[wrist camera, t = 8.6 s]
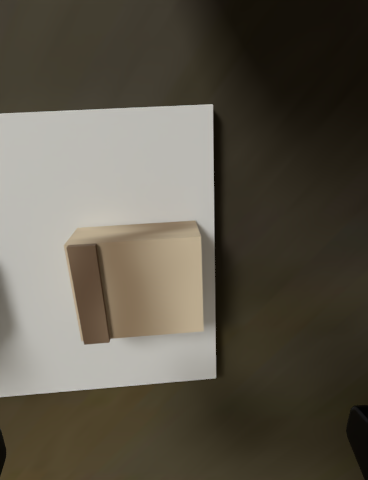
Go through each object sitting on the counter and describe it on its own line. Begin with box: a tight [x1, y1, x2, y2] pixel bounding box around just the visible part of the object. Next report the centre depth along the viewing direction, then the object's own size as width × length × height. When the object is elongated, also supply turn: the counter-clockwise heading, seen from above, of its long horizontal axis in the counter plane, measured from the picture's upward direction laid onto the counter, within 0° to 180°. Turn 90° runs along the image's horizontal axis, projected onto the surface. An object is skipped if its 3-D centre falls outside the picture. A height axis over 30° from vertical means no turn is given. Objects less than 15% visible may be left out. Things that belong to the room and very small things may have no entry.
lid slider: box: [64, 221, 204, 345], centre depth 16 cm, size 6×5×3 cm
